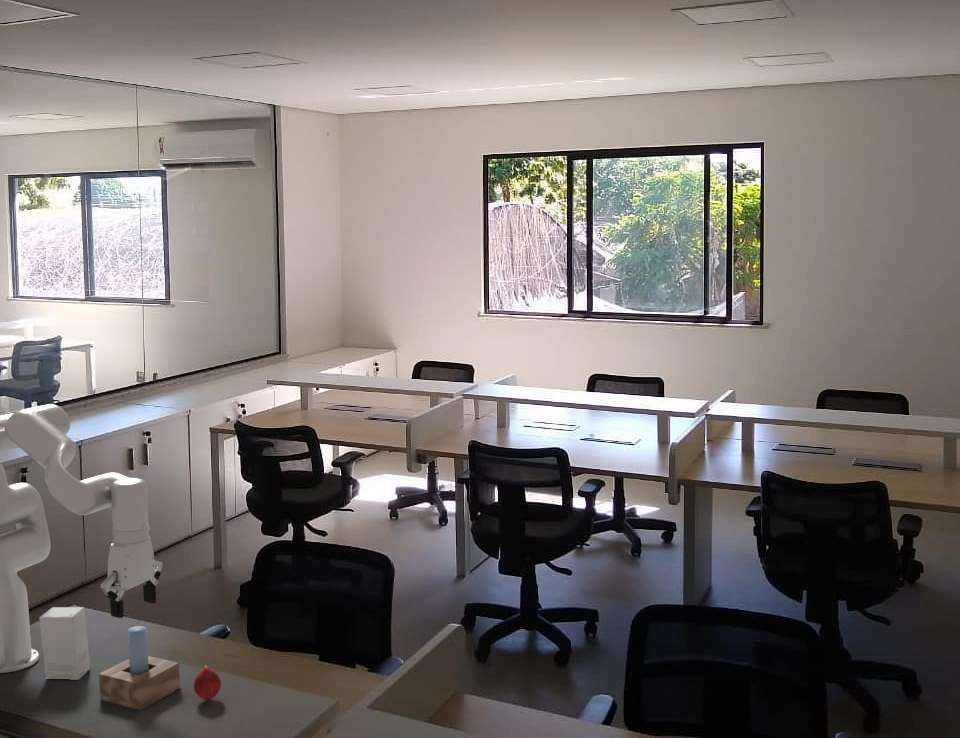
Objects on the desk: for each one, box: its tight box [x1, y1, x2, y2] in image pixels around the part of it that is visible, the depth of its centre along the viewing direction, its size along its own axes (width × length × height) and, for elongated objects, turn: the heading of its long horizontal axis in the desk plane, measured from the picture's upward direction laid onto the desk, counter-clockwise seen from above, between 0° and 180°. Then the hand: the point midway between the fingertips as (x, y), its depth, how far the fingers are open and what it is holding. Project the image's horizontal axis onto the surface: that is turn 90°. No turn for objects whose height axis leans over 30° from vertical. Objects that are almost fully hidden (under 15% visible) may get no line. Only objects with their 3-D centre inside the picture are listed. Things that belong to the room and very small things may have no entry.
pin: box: [127, 625, 149, 675], centre depth 232 cm, size 4×4×14 cm
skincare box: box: [39, 606, 91, 681], centre depth 242 cm, size 8×7×16 cm
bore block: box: [98, 655, 181, 711], centre depth 233 cm, size 12×12×6 cm
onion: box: [193, 665, 222, 702], centre depth 229 cm, size 6×6×8 cm
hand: (133, 609), depth 231 cm, fingers open, 9 cm apart
